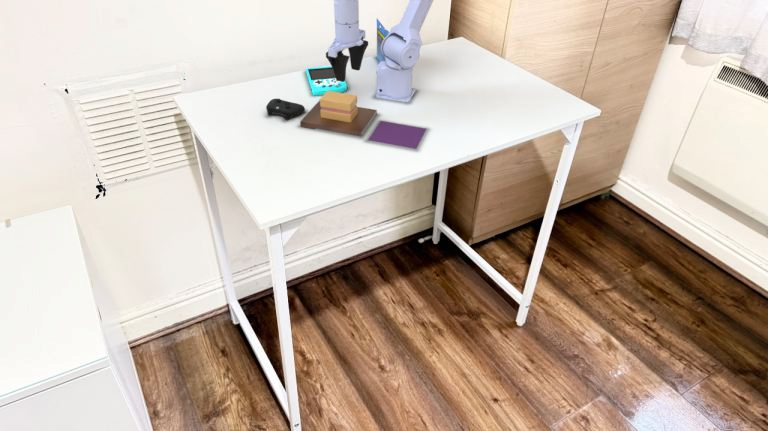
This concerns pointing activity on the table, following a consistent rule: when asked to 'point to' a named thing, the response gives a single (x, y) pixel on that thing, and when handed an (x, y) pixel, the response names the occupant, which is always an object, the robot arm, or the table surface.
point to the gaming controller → (284, 108)
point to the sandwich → (338, 106)
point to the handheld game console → (324, 80)
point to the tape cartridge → (380, 40)
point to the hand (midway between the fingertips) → (348, 74)
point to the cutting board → (353, 128)
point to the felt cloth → (397, 134)
